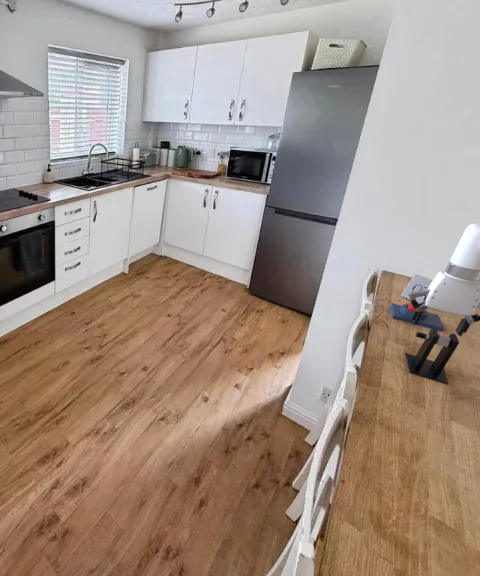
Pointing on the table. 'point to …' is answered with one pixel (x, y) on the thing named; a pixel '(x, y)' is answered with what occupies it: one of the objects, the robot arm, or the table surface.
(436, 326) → the switch block
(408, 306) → the button
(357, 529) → the table surface
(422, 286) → the electrical switch
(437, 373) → the bracket
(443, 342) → the lever
